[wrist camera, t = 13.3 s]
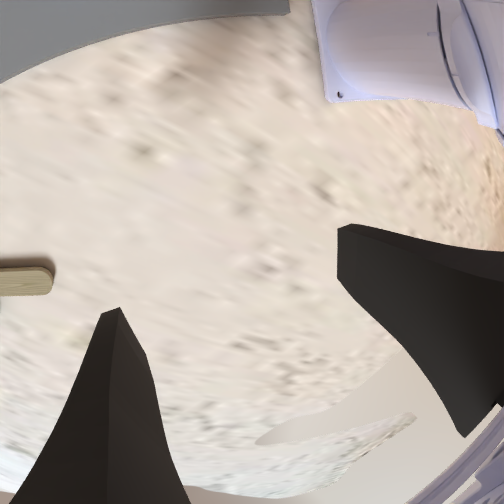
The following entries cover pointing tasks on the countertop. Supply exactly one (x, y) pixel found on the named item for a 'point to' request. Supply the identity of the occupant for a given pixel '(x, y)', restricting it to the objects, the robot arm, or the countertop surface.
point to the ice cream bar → (25, 281)
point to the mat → (99, 23)
